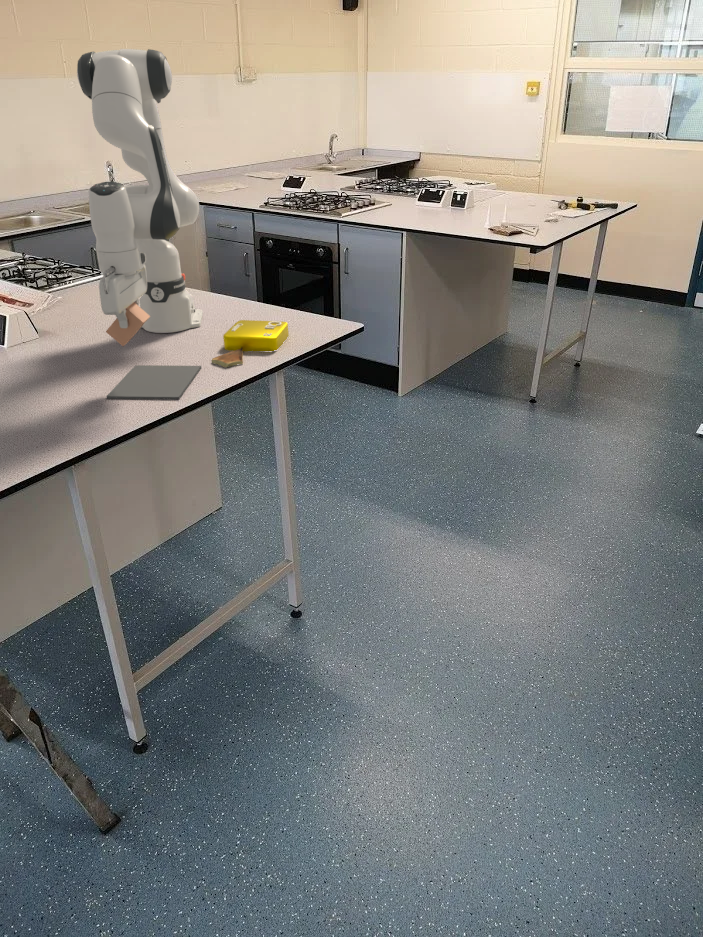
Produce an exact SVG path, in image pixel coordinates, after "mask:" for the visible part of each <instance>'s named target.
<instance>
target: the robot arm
mask: <svg viewBox="0 0 703 937" xmlns="http://www.w3.org/2000/svg"><path fill="white" fill-rule="evenodd" d="M76 66H77V67H76V74H77V75H76V76H77V81H78V83H79V86H80V89H81V91H82V93H83V94H84V95H85V96H86V98H88V99H89V100H91V110H92V111H91V113H92V120H93V124H94V127H95V129H96V131H97V133H98V134H99V136H101V138H102V139H103V140H105V141H106V142H107V143H109V144H111V145H112V146H114V147H116V148H118V149H120V150H121V156H122V159H123V161H124V162H125V165H127V167H129V168H130V169H132V171H133V170H134V171H135V172H138V173H139V174H141V175H143V177H145V180H146V181H147V185H124V184H123V183H121V182H116V181H102V182H99V183H96V184H93V185H91V186H90V188H89V190H88V206H89V209H88V210H89V218H90V224H91V230H92V232H93V233H94V235H95V241H96V242H95V243H96V244H95V251H96V256H97V262H98V268H99V272H101V274H102V277H101V278H100V279H99V282H98V290H99V298H100V306H101V311H102V312H103V314H104V315H105V316H106V315H107V316H115V317H116V318H117V319H118V321H119V325H120V328H127V327H128V326H129V325H130V324H129V319H127V317H126V314H125V313H126V308H127V307H129V306H130V305H131V304H132V303H133V302H134V303H136V304H137V305H138V306H139V307H140V308H141V309H143V310H144V311H145V312H146V313H147V314H148V315H149V316H150V317H149V319H148V320H147V321H146V322H145V323H144V325H143V326H142V327H141V328H140V329H144V330H145V331H147V332H150V333H156V334H167V333H168V334H169V333H176V332H182V331H185V330H188V329H193V328H199V327H201V326H202V321H203V315H204V310H203V309H200V308H196V306H195V299H194V295H193V294H191V292H189V291H188V290H187V286H186V275H185V273H182V270H181V261H180V260H181V259H180V254H179V250H178V249H177V248H176V246H175V245H174V244H173V243H172V242H170V241H169V240H171V239H172V237H174V236H176V234H177V233H178V231H179V230H180V228H181V227H186V226H189V225H193V224H194V223H195V222H196V221H197V219H198V217H199V215H200V214H199V213H200V202H199V199H198V196H197V194H196V193H195V192H194V191H193V189H191V187H189V186H188V185H187V184H185V183H184V182H183V181H181V180H180V179H179V177H178V176H177V175H176V173H175V171H174V170H173V169H172V167H171V165H170V162H169V160H168V157H167V152H166V148H165V141H164V136H163V130H162V122H161V117H160V112H159V109H158V108H159V107H158V104H160V103H161V101H162V100H163V99H165V98H167V96H168V95H169V93H170V92H171V87H172V83H173V74H172V68H171V66H170V64H169V62H168V60H167V57H166V55H165V54H164V53H163V52H162V51H159V50H156V49H155V50H154V49H150V48H148V49H147V50H145V49H137V48H136V49H135V48H133V49H132V48H120V49H115V50H114V49H113V50H104V51H103V50H102V51H98V52H96V51H90V52H85V53H82V55H81V56H80V57H79V59H78V60H77V65H76Z"/></svg>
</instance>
